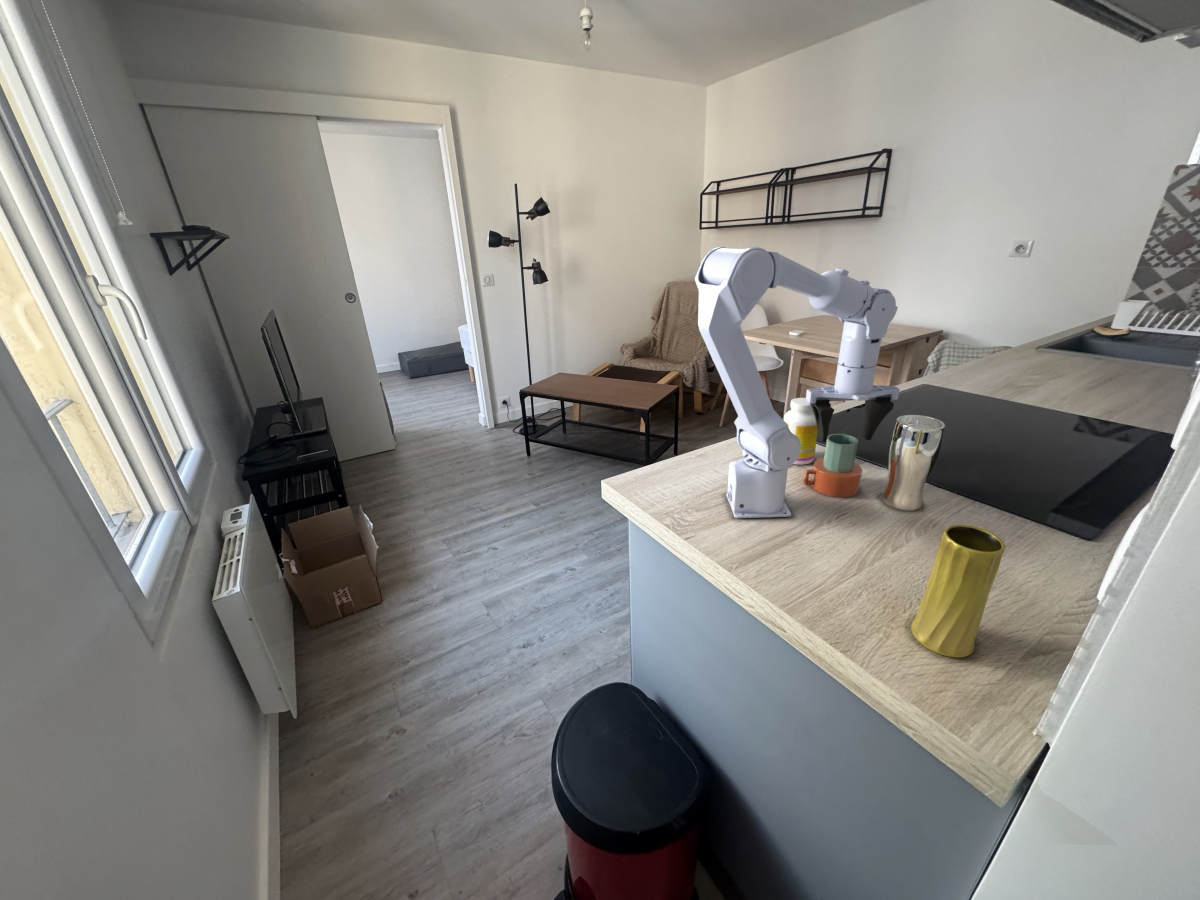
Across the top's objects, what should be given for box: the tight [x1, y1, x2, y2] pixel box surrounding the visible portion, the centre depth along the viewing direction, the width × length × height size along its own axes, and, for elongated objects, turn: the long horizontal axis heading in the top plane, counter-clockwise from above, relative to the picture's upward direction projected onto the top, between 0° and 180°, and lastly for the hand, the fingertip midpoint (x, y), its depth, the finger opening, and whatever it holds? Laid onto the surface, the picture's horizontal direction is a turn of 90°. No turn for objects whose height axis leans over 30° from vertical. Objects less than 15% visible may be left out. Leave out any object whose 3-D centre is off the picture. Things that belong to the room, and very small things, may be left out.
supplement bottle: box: [783, 397, 818, 466], centre depth 96 cm, size 7×7×13 cm
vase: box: [910, 524, 1006, 659], centre depth 52 cm, size 6×6×14 cm
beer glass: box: [880, 414, 946, 512], centre depth 78 cm, size 7×7×15 cm
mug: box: [802, 457, 863, 498], centre depth 87 cm, size 10×8×4 cm
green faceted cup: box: [823, 433, 859, 473], centre depth 85 cm, size 5×5×6 cm
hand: (844, 438), depth 83 cm, fingers open, 7 cm apart
